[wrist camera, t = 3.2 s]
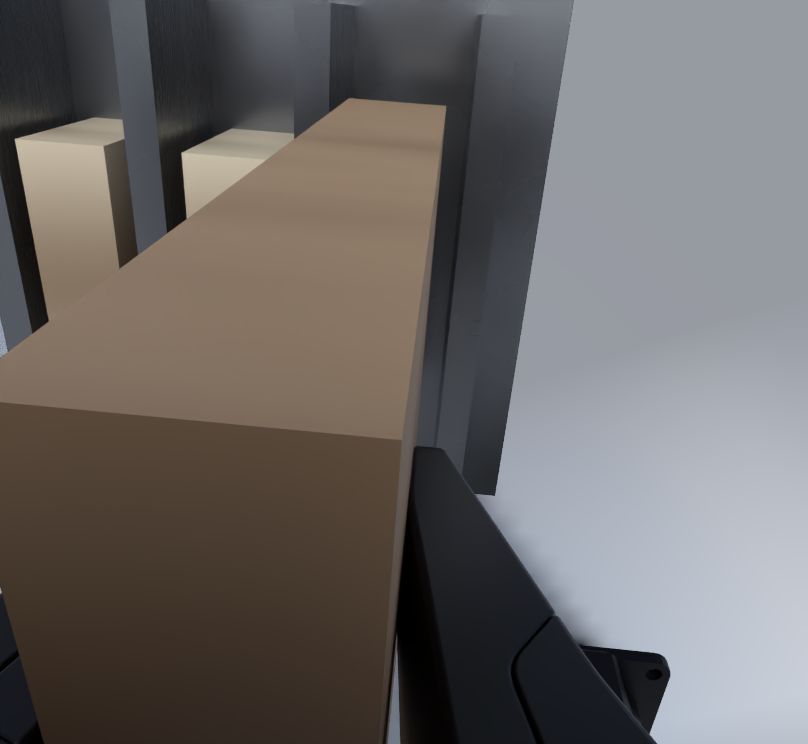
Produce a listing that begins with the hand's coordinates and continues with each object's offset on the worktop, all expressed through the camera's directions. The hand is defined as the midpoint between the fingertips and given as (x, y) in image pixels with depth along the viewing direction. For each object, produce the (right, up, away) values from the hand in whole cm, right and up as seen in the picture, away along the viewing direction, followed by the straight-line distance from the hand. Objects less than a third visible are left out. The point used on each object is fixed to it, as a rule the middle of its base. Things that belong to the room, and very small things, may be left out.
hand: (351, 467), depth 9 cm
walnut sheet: (0, +2, +4) cm, 5 cm away
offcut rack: (-2, +4, +8) cm, 9 cm away
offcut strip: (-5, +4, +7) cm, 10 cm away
